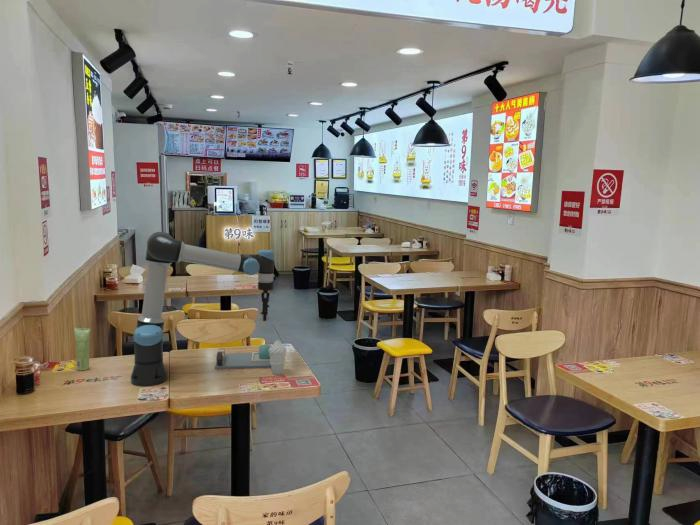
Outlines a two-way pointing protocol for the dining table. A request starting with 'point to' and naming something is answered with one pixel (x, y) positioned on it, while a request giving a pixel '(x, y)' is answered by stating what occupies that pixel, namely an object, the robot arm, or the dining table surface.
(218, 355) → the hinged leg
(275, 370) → the soft serve ice cream cone
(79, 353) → the tube
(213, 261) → the robot arm
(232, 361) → the jig board
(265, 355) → the teal egg shape
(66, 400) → the dining table surface
